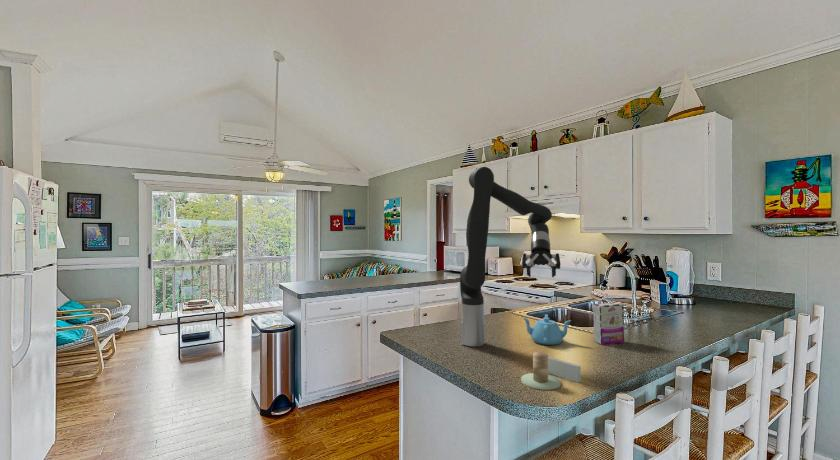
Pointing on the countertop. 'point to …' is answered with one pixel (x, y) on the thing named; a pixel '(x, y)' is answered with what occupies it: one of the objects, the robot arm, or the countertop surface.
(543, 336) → the teapot
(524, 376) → the sage mat
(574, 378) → the frosted wall
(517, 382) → the countertop surface
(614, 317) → the candy bar box
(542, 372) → the beech cylinder
